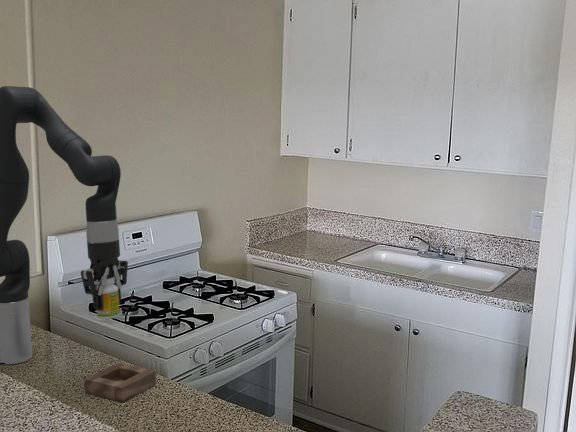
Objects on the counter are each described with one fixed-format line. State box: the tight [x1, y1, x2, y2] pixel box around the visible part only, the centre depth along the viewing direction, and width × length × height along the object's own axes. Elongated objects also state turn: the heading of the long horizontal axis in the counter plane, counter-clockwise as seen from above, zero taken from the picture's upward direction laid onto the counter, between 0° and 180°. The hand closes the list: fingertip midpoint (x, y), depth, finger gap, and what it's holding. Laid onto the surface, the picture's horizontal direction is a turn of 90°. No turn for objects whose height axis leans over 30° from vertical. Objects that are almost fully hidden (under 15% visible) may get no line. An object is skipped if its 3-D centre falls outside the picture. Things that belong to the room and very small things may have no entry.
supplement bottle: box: [96, 277, 120, 320], centre depth 163 cm, size 5×5×10 cm
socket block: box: [83, 362, 157, 403], centre depth 164 cm, size 12×12×4 cm
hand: (107, 306), depth 163 cm, fingers closed on supplement bottle, 5 cm apart
